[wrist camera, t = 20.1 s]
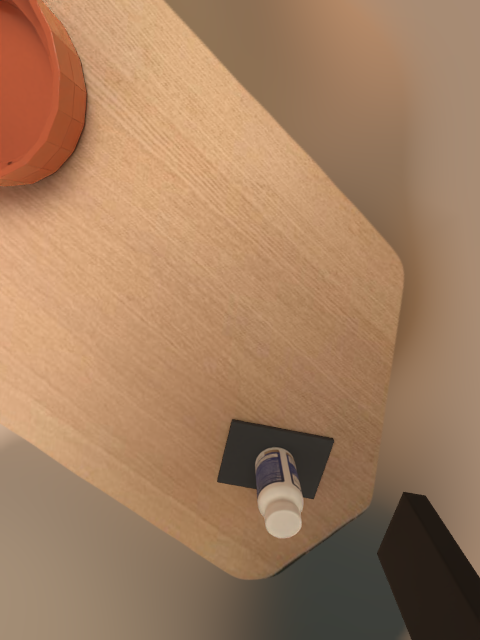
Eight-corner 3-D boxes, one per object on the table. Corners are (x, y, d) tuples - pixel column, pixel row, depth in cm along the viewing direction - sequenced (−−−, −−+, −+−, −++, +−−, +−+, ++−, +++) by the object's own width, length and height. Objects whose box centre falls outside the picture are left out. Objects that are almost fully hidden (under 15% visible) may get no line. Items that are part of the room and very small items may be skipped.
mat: (333, 438, 46) (334, 441, 45) (312, 496, 48) (313, 499, 48) (232, 418, 45) (232, 421, 44) (217, 479, 47) (217, 482, 47)
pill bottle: (249, 473, 46) (252, 537, 37) (261, 441, 45) (267, 500, 36) (286, 482, 47) (298, 548, 38) (299, 451, 45) (315, 511, 36)
